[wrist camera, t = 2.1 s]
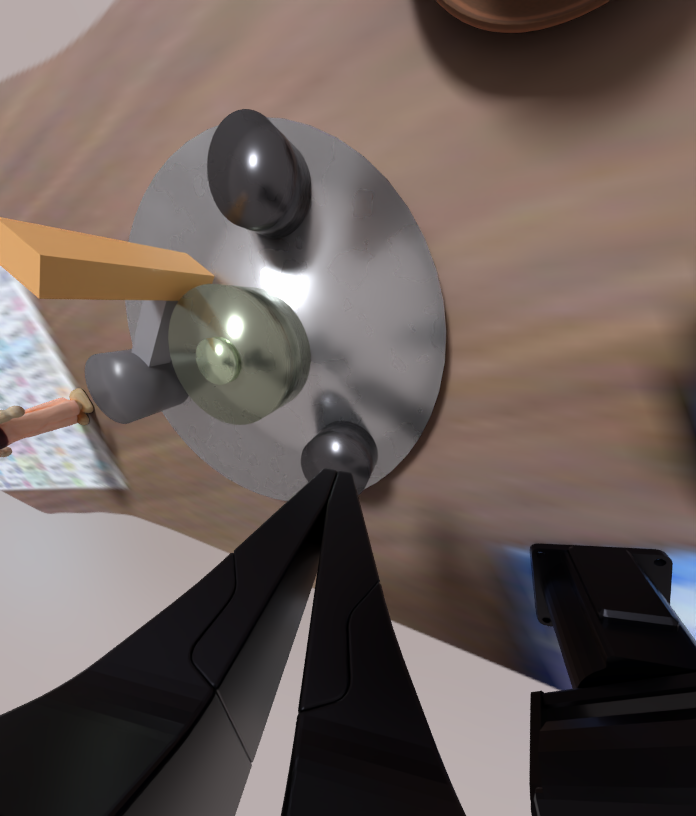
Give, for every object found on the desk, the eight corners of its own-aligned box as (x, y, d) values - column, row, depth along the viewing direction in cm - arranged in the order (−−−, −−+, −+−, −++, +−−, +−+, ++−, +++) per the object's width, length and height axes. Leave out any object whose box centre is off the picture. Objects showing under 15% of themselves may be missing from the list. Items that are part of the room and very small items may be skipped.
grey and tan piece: (180, 416, 23) (50, 469, 16) (138, 380, 23) (-10, 415, 16) (229, 287, 17) (63, 274, 10) (172, 242, 18) (-29, 197, 10)
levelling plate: (472, 491, 18) (479, 551, 14) (210, 495, 28) (163, 531, 23) (399, 14, 12) (368, -154, 8) (94, 229, 21) (0, 209, 17)
